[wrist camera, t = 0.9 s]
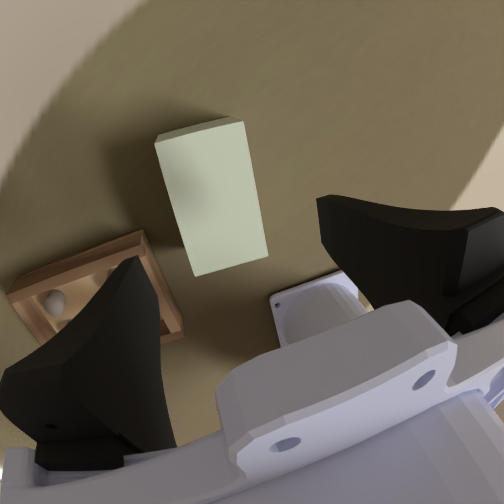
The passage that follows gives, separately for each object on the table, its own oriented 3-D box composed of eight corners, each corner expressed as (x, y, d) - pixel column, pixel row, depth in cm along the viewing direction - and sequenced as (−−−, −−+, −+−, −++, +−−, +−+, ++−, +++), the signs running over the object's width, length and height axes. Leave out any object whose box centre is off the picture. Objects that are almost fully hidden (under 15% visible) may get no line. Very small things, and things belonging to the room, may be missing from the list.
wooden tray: (182, 316, 24) (185, 337, 22) (66, 349, 22) (62, 369, 20) (143, 228, 19) (140, 244, 17) (16, 277, 18) (5, 295, 16)
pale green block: (229, 116, 18) (243, 120, 14) (252, 228, 22) (268, 256, 18) (158, 134, 17) (154, 143, 14) (190, 245, 21) (194, 276, 18)
